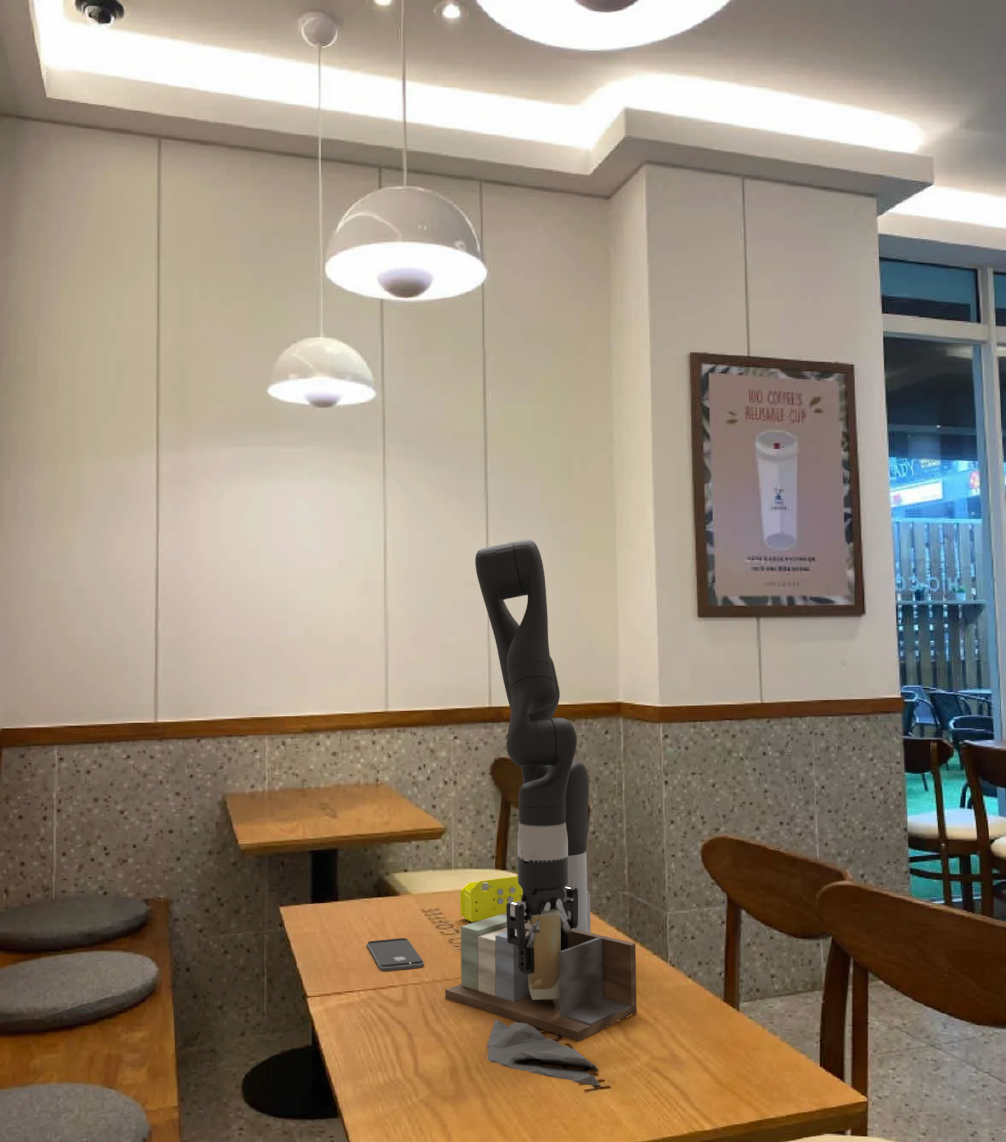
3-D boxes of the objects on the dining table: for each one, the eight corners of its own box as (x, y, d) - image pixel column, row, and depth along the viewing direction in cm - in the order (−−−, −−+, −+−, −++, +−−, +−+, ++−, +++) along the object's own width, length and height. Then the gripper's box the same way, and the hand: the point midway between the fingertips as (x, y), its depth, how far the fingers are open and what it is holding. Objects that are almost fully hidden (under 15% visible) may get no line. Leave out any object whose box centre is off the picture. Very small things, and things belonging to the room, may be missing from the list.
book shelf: (506, 975, 167) (505, 911, 167) (636, 1012, 149) (635, 942, 150) (445, 997, 156) (445, 930, 157) (577, 1041, 139) (576, 964, 140)
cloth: (459, 1029, 145) (458, 1012, 145) (548, 1016, 150) (548, 1001, 150) (520, 1107, 121) (519, 1088, 121) (624, 1090, 125) (624, 1071, 125)
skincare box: (527, 986, 153) (526, 903, 153) (555, 985, 153) (555, 902, 154) (531, 1001, 146) (531, 914, 147) (561, 1000, 147) (560, 914, 147)
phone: (365, 947, 184) (380, 974, 169) (365, 941, 184) (380, 968, 169) (406, 943, 187) (425, 969, 171) (406, 937, 187) (425, 963, 171)
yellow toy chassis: (472, 926, 196) (472, 882, 197) (459, 919, 201) (459, 877, 202) (544, 915, 204) (543, 873, 204) (530, 909, 209) (529, 868, 209)
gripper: (554, 842, 159) (555, 950, 158) (491, 857, 148) (492, 972, 147) (592, 848, 154) (593, 960, 153) (530, 864, 143) (531, 984, 142)
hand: (543, 966), depth 150 cm, fingers closed on skincare box, 7 cm apart
